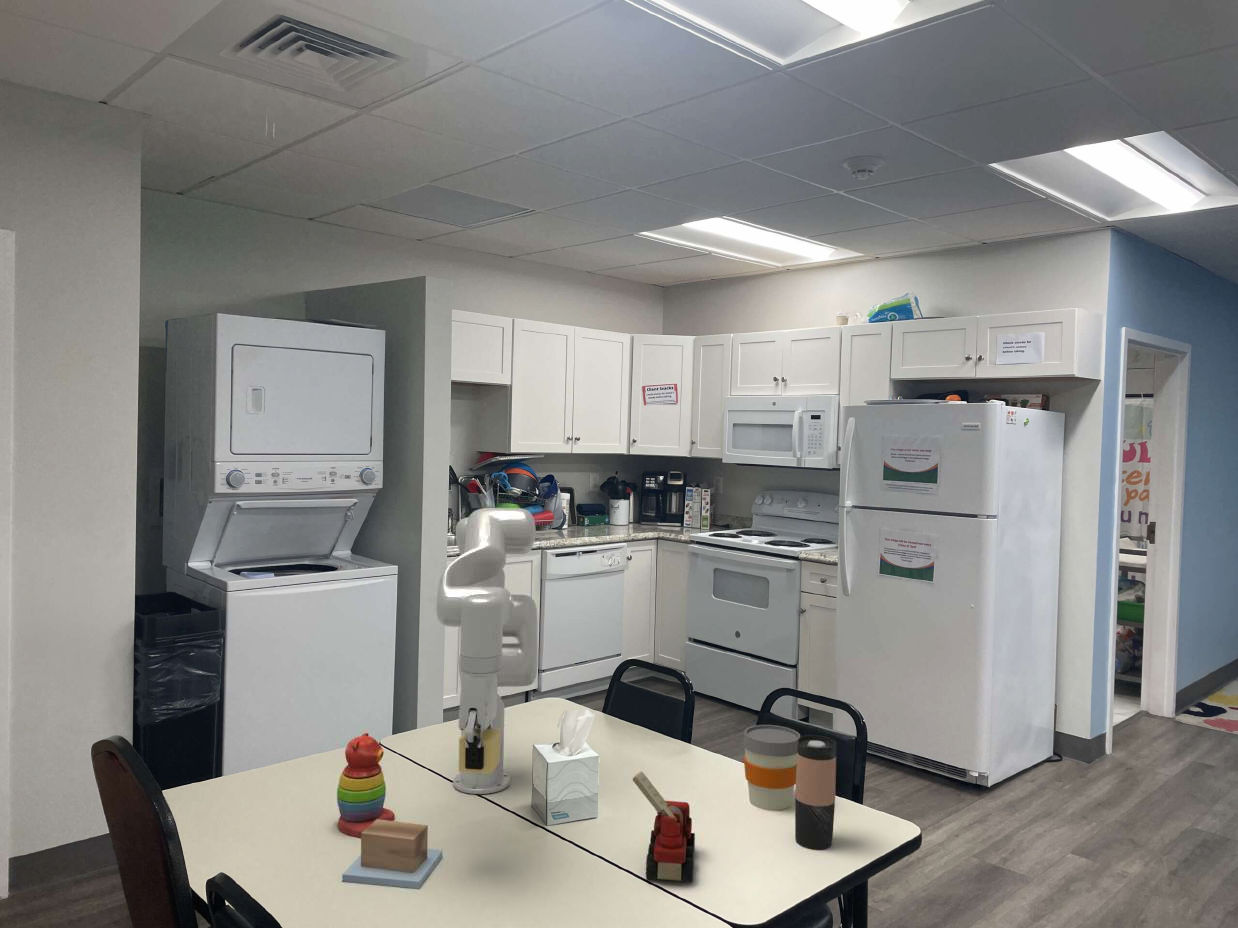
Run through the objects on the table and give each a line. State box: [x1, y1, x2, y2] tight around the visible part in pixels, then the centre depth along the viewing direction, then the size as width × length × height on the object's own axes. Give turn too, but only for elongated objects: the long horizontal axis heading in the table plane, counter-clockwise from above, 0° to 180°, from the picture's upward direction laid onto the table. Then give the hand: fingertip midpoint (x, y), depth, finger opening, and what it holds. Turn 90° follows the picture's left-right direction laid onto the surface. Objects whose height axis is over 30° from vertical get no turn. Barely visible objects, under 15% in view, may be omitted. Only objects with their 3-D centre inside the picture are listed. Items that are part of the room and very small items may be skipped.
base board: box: [341, 848, 444, 890], centre depth 163 cm, size 12×14×1 cm
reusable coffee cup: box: [742, 724, 801, 811], centre depth 197 cm, size 13×13×15 cm
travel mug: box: [794, 734, 837, 851], centre depth 178 cm, size 8×8×20 cm
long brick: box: [360, 819, 429, 873], centre depth 163 cm, size 6×10×6 cm, turn 78°
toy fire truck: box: [632, 771, 696, 883], centre depth 167 cm, size 11×16×18 cm
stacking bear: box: [336, 732, 396, 838], centre depth 180 cm, size 11×10×18 cm
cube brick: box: [458, 728, 500, 774], centre depth 164 cm, size 6×6×6 cm
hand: (479, 760), depth 164 cm, fingers closed on cube brick, 6 cm apart
